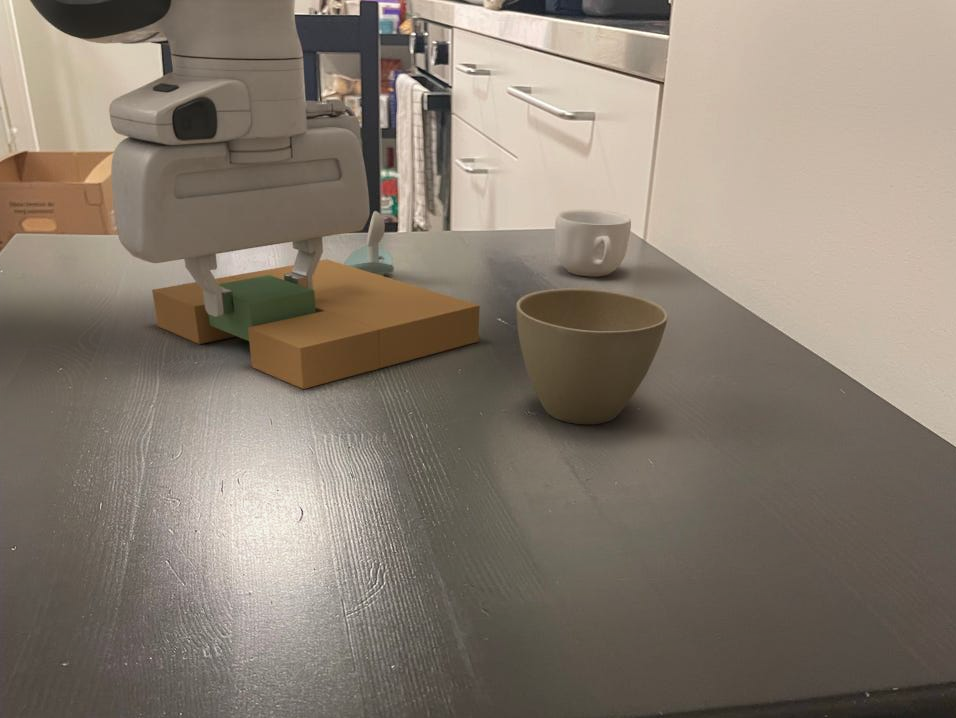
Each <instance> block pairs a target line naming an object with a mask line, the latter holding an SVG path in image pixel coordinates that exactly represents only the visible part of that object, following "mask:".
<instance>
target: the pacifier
mask: <svg viewBox="0 0 956 718" xmlns="http://www.w3.org/2000/svg"><path fill="white" fill-rule="evenodd" d="M384 219H385V218H384V217H383V215H382V214H381V213H380V212H378V210H377V211H376V210H375V211H373V213H372V215H371V219H370V223H369V226H368V232H367V238H366V246H364V247H360V248H358V249H356V250H355V249H354V251H352V252H351V253H350V254H349V255H348V256H347V258H345V260H344V265H347V266H351V267H354V268H357V269H361V270H364V271H367V272H371V273H374V274H377V275H381V276H384V274H387V273H393V272H394V270H395V267H394V266H393V264H394V259H393V258H394V257H393V256H392V254H391V253H390V252H389V251H388V250H387V249H385V248H384V247H381V246H379V243H380V242H381V241H382V239H383V238H384V235H385V229H386V223H385V220H384ZM380 260H382V261H380Z"/></svg>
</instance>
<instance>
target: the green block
mask: <svg viewBox="0 0 956 718" xmlns="http://www.w3.org/2000/svg"><path fill="white" fill-rule="evenodd" d="M219 286H220V287H223V288H224V289H229V290H232V293H233V302H232V304H233V305H234V312H233V313H232V314H227V315H223V316H218V317H215V316H212V315H210V314H209V322H210V326H212V327H215V328H217V329H220V330H222V331H225V332H227V333H230V334H232V335H235V337H238V338H240V339H242V340H245V341H247V342H249V333H248V328H249V327H253V326H257V325H262V324H267V323H271V322H276V321H281V320H285V319H290V318H295V317H299V316H304V315H309V314H313V313H316V308H315V293H314V290H313V289H310V288H307V287H304V286H301V285H298V284H295V283H292V282H289V281H286V280H283V279H279V278H276V277H273V276H270V275H266V276H261V277H255V278H250V279H244V280H239V281H234V282H228V283H223V284H219Z"/></svg>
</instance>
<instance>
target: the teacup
mask: <svg viewBox="0 0 956 718" xmlns="http://www.w3.org/2000/svg"><path fill="white" fill-rule="evenodd" d="M554 223H555V225H554V239H555V240H554V247H555V253H556V257H557V259H558V261H559V263H560V265H561V266H562V267H563V268H564V269H565V270H566V271H567V272H568V273H570V274H572V275H576V276H580V277H581V276H582V277H604V276H608V275H610V274H611V273H613V272H614V271H616V270H617V269H618V268H619V267H620V265H621V264H622V262H623V261H624V259H625V256H626V253H627V251H628V246H629V241H630V236H631V235H630V234H631V230H632V229H631V228H632V220H631V218H630V216H628V215H625V214H622V213H619V212H615V211H610V210H609V211H608V210H599V209H570V210H563V211H560V212H558V213H557V214H556V217H555V222H554Z"/></svg>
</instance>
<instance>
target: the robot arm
mask: <svg viewBox="0 0 956 718" xmlns="http://www.w3.org/2000/svg"><path fill="white" fill-rule="evenodd" d="M29 1H30V3H31V4H32V6H33V7H34V9H35V10H36V11H37V12H38V13H39V15H40V16H41V17H43V18H44V19H45V21H46V22H48V23H49V24H50V25H51V26H53V27H54V28H56V30H58V31H60V32H62V33H64V34H66V35H68V36H71V37H73V38H77V39H80V40H84V41H86V42H90V43H95V44H104V45H105V44H124V45H132V44H133V45H135V44H145V43H151V44H157V45H163V46H169V48H170V49H169V50H170V56H171V65H172V71H171V72H168V73H166V74H164V75H163V76H160V77H159V78H157V79H155V80H153V81H150V82H148V83H147V84H145V85H142V86H140V87H138V88H136V89H133V90H131V91H129V92H127V93H125V94H122V95H120V96H118V97H116V98H114V99H113V100H112V101H111V102H110V104H109V107H108V114H109V120H110V124H111V127H112V129H113V131H115V133H116V134H118V135H121V136H124V137H126V138H124V139H122V140H121V141H120V142H118V144H117V146H116V147H115V148H114V151H113V154H112V158H111V167H110V170H111V171H110V172H111V173H110V174H111V191H112V201H113V202H112V204H113V212H114V213H113V214H114V220H115V226H116V231H117V237H118V239H119V242H120V244H121V245H122V246H123V247H124V249H125V250H126V251H127V252H128V253H129V254H130V255H131V256H132V257H134V258H137V259H139V260H141V261H145V262H147V263H152V264H161V263H167V262H173V261H180V260H184V266H185V269H186V270H187V272H188V273H189V274H190V275H191V277H192V279H193V280H194V281H195V282H196V283H197V284H198V285H199V287H200V288H201V289H203V297H204V304H205V309H206V312H207V313H208V314H210V315H212V316H215V317H218V316H223V315H227V314H232V313H233V312H234V305H233V304H232V302H233V293H232V290H229V289H224V288H223V287H220V286H219V284H218V283H217V281H216V279H217V278H215V275H214V274H213V273H212V271H215V270H217V269H218V262H217V255H218V254H223V253H231V252H235V251H242V250H249V249H255V248H260V247H267V246H274V245H280V244H287V243H291V244H292V248H293V249H294V250H297V254H296V257H295V261H294V264H293V265H294V267H293V270H292V273H287V274H284V280H286V281H289V282H292V283H295V284H298V285H301V286H304V287H307V288H310V289H313V283H312V275H314V272H315V270H316V267H317V265H318V262H319V261H320V260H321V257H322V255H323V252H324V245H323V243H324V242H323V238H324V237H332V236H336V235H342V234H349V233H355V232H361V231H363V230H364V229H365V226H366V224H367V222H368V220H369V218H370V212H371V211H370V210H371V209H370V196H369V187H368V186H369V185H368V180H367V171H366V166H365V160H364V156H363V151H362V147H361V146H362V144H361V124H360V120H359V117H358V116H357V115H356V114H355V112H354V111H353V110H352V109H351V108H350V107H349V106H347V105H346V104H345V102H344V101H342V100H340V99H328V100H325V101H318V100H306V87H305V85H306V83H305V72H304V71H305V69H304V54H303V53H304V52H303V48H302V43H301V40H300V38H299V37H300V36H299V34H298V30H297V25H296V18H295V17H296V16H295V8H296V7H295V6H296V5H295V3H296V0H29ZM345 113H346V114H347V115H346V114H345ZM344 114H345V115H344Z"/></svg>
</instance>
